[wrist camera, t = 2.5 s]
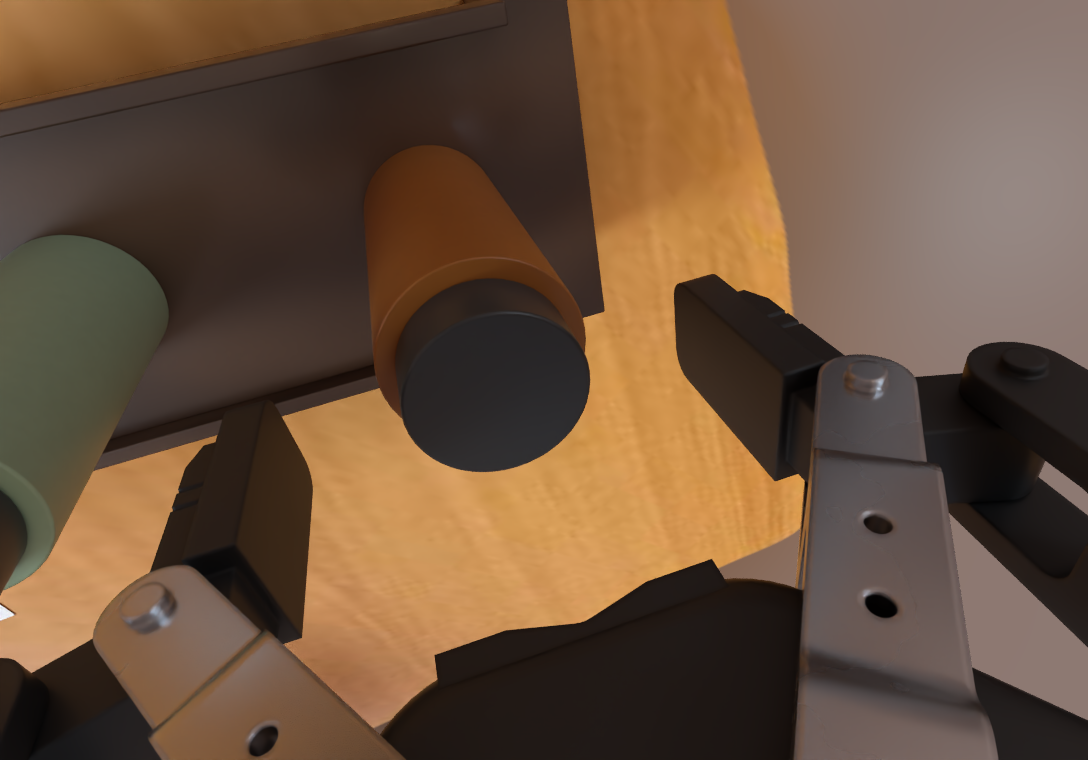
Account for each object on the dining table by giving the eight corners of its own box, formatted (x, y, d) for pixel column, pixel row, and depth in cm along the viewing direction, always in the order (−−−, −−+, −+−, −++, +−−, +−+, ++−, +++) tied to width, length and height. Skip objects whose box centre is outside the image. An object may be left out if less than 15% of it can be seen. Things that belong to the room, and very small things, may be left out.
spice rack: (-108, 116, 20) (-310, 176, 14) (512, -16, 23) (574, -15, 17) (88, 375, 27) (9, 496, 21) (556, 248, 30) (612, 320, 23)
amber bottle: (343, 163, 18) (338, 332, 10) (481, 130, 19) (597, 260, 10) (388, 290, 21) (417, 515, 12) (509, 257, 22) (621, 450, 13)
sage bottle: (-40, 256, 17) (-455, 550, 8) (120, 217, 18) (-109, 455, 9) (58, 379, 20) (-178, 704, 11) (195, 342, 20) (77, 623, 11)
